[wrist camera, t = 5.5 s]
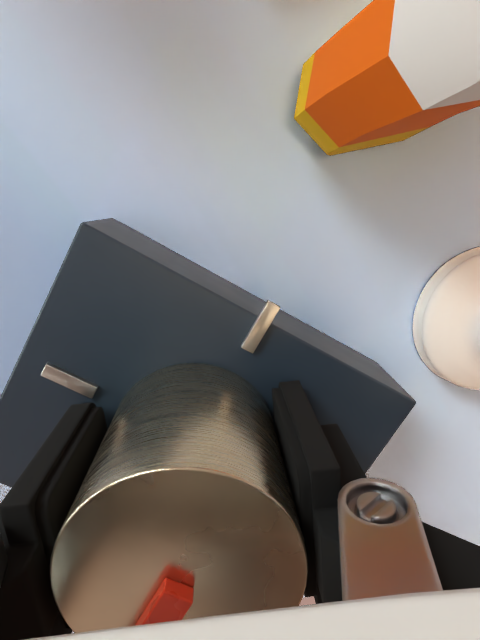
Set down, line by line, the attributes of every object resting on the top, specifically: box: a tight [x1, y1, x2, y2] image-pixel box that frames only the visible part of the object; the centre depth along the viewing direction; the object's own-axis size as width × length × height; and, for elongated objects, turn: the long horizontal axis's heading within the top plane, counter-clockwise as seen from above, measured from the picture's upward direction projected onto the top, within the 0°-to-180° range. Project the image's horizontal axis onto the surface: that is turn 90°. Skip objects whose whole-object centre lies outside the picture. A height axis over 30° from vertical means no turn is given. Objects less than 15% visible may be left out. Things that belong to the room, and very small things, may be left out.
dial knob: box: [50, 363, 308, 633], centre depth 9 cm, size 4×4×5 cm
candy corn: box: [294, 0, 480, 156], centre depth 8 cm, size 6×3×8 cm, turn 109°
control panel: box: [0, 218, 416, 487], centre depth 13 cm, size 10×9×3 cm
